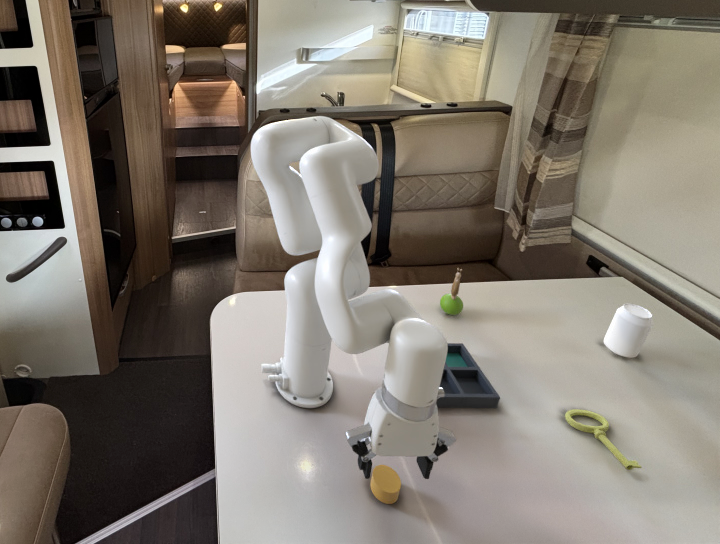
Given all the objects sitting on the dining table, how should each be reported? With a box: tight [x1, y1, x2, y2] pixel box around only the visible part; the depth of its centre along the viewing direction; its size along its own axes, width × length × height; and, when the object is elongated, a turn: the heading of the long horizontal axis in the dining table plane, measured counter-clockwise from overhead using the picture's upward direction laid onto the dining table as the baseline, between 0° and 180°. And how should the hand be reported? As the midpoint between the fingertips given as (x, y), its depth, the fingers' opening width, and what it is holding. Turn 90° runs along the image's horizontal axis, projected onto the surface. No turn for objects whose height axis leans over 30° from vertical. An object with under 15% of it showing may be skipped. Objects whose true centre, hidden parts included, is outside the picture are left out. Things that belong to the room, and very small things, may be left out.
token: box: [369, 464, 402, 505], centre depth 74 cm, size 5×5×3 cm
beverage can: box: [603, 302, 654, 359], centre depth 100 cm, size 6×6×12 cm
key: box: [564, 408, 642, 471], centre depth 82 cm, size 7×12×2 cm, turn 16°
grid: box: [436, 342, 501, 409], centre depth 95 cm, size 14×14×3 cm
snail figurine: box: [439, 267, 464, 316], centre depth 113 cm, size 5×6×12 cm
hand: (393, 470), depth 71 cm, fingers open, 9 cm apart
